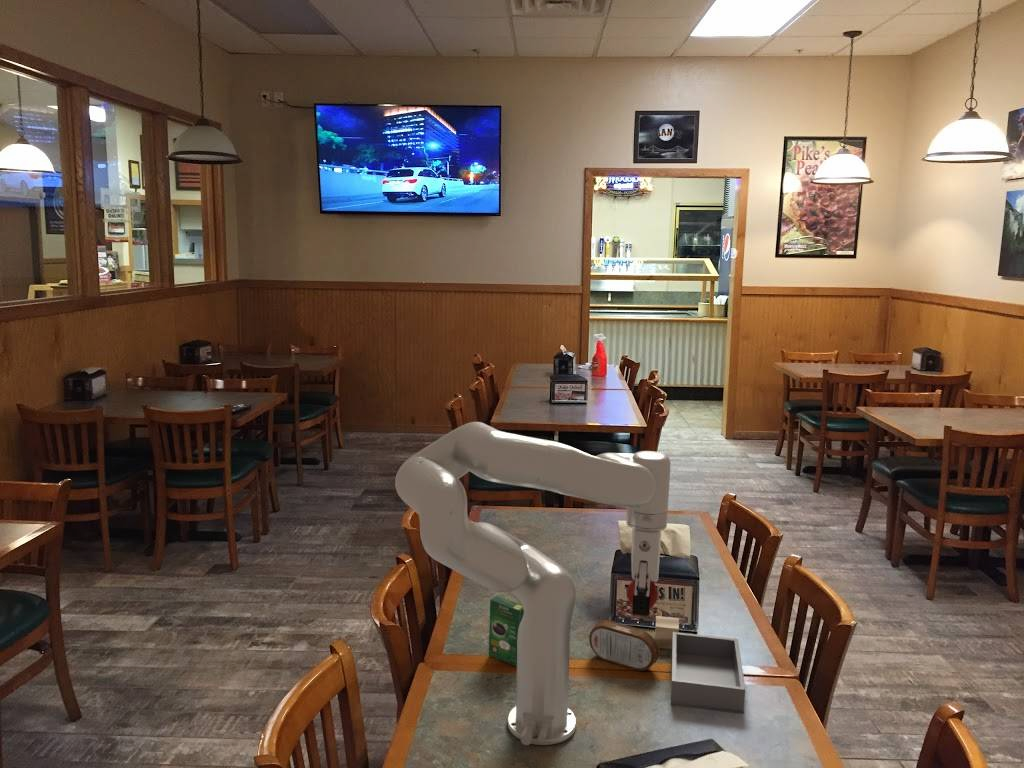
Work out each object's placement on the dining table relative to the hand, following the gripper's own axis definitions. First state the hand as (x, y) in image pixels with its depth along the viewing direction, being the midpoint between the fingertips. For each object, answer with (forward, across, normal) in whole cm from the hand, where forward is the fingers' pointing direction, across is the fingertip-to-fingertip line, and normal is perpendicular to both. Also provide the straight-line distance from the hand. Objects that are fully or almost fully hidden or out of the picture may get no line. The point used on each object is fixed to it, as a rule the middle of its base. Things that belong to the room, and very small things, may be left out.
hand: (641, 605), depth 153 cm
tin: (+19, +11, +4) cm, 22 cm away
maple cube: (+19, +22, -6) cm, 30 cm away
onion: (+1, 0, 0) cm, 1 cm away
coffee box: (+19, +7, +28) cm, 34 cm away
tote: (+19, +8, -14) cm, 24 cm away
